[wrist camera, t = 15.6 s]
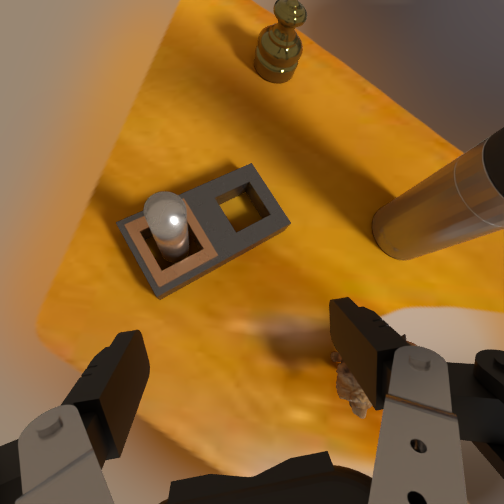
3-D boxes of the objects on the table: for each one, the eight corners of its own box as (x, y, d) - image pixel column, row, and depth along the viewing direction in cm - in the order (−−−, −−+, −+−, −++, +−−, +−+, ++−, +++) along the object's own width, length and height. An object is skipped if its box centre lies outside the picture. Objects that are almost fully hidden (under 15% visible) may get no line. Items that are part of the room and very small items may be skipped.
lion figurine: (325, 406, 33) (369, 432, 25) (306, 365, 34) (342, 376, 26) (411, 351, 38) (473, 358, 29) (391, 316, 39) (447, 312, 30)
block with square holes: (247, 174, 40) (252, 161, 37) (284, 230, 39) (291, 222, 36) (122, 231, 34) (115, 221, 31) (160, 299, 33) (156, 296, 30)
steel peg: (180, 231, 36) (174, 185, 24) (194, 254, 35) (193, 218, 24) (155, 243, 35) (135, 201, 23) (168, 267, 34) (155, 236, 23)
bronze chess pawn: (297, 60, 49) (322, -4, 39) (289, 90, 46) (313, 29, 37) (258, 45, 48) (274, -25, 38) (248, 74, 45) (262, 8, 36)
